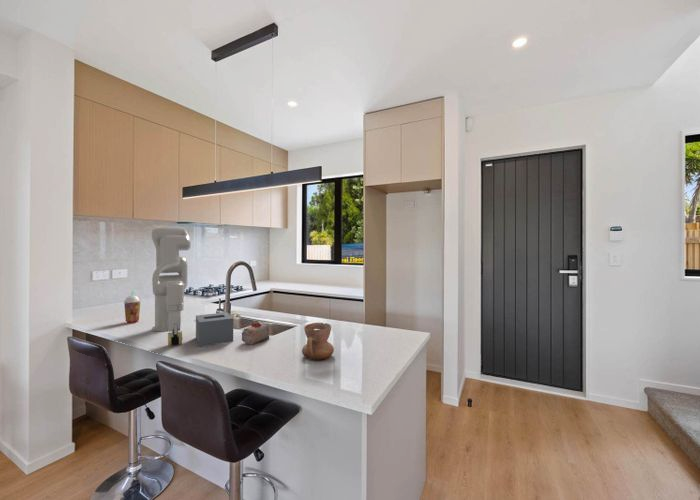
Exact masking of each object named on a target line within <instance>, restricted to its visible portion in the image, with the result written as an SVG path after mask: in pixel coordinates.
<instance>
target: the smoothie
mask: <svg viewBox="0 0 700 500" xmlns="http://www.w3.org/2000/svg"><path fill="white" fill-rule="evenodd" d="M123 303H124V314H125V315H124V316H125V317H124V318H125V322H126V324H136V323H139V320H140V309H141V299H140V298H139V297H138V296H137V295H135V294H134V290H132V291H131V295H129V296H127V297H126V298H125V300H124V301H123Z"/></svg>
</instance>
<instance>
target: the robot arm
mask: <svg viewBox="0 0 700 500" xmlns="http://www.w3.org/2000/svg"><path fill="white" fill-rule="evenodd" d="M151 239H152V242H153V244H154V248H155V252H156V254H155V256H156V258H155V264H156V265H155V266H156V267H155V269H154V272H153V273H152V278H151V281H152V282H151V283H152V284H151V286H152V293H153V295H154V326H152V328H151V331H153V332H167V331H168V333H172V337H171V345H173V346H179V345H178V344H179V336H178V332H180V331H181V324H182V311H184V310H185V309H184V305H185V304H184V301H185V299H184V298H185V297H184V296H185V295H184V292H185V290H186V289H187V286H188V262H187V259H186V258H185V257H184V256H180V251H189V250H190V249H191V244H192V243H191V242H192V241H191V238H190V235H189V234H188V231H187V230H186V229H184V228H178V227H177V228H176V227H175V228H173V227H156V228H153V229H152V231H151ZM172 273H173V274H172ZM175 273H177V274H175ZM161 274H165V275H161Z"/></svg>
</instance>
